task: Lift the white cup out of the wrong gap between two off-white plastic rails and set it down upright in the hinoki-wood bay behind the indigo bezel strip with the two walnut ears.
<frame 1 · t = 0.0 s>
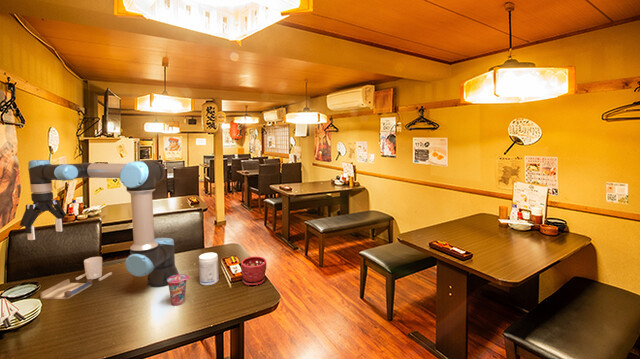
hand: (46, 235, 139), 28 cm above the table, fingers open, 13 cm apart
cup: (179, 303, 132), on the table
plant pot: (254, 282, 153), on the table
bezel bay: (67, 291, 141), on the table
supplement tub: (209, 282, 153), on the table
white cup: (94, 277, 157), on the table
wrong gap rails: (94, 276, 157), on the table
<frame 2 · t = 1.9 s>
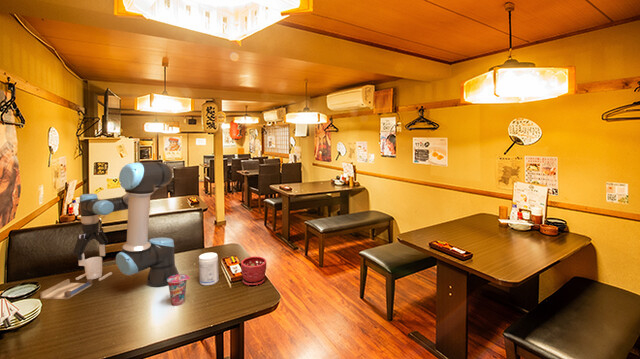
hand: (92, 260, 156), 9 cm above the table, fingers open, 13 cm apart
nothing on the table moved.
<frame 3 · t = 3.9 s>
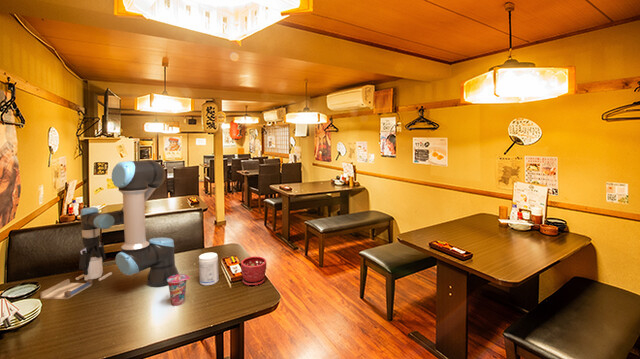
hand: (94, 276, 157), 0 cm above the table, fingers closed on white cup, 8 cm apart
white cup: (94, 277, 157), on the table, touching gripper
everything else where it was.
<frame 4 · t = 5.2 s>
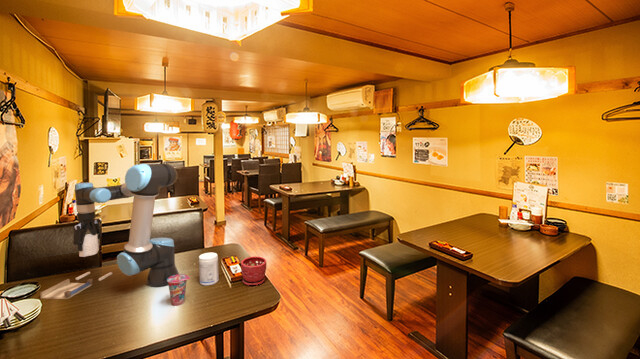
hand: (89, 253, 153), 14 cm above the table, fingers closed on white cup, 7 cm apart
white cup: (89, 254, 153), point 14 cm above the table, touching gripper
everything else where it was.
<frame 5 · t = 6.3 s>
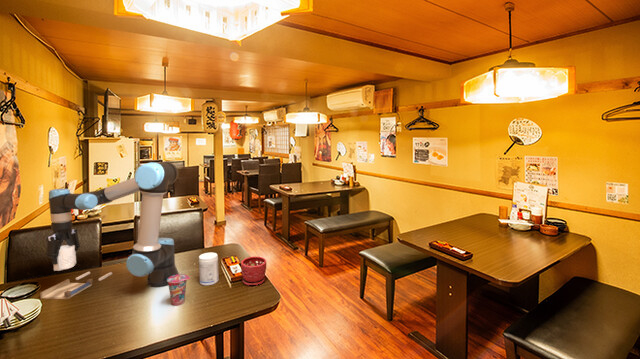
hand: (65, 266, 140), 13 cm above the table, fingers closed on white cup, 7 cm apart
white cup: (65, 267, 140), point 12 cm above the table, touching gripper
everything else where it was.
when the fingers open (3 cm above the table, at t = 8.5 s): white cup drops 1 cm, resting on bezel bay.
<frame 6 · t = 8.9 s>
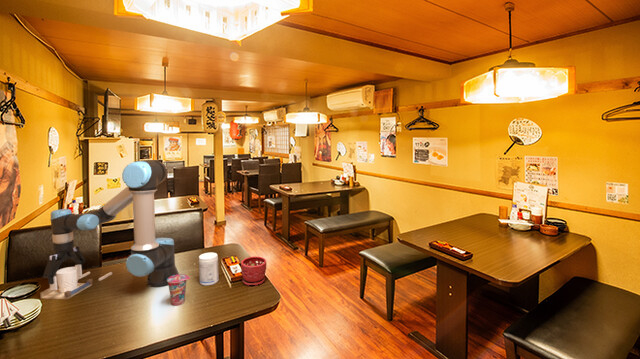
hand: (67, 283, 141), 4 cm above the table, fingers open, 13 cm apart
white cup: (68, 289, 141), point 1 cm above the table, touching bezel bay
everything else where it was.
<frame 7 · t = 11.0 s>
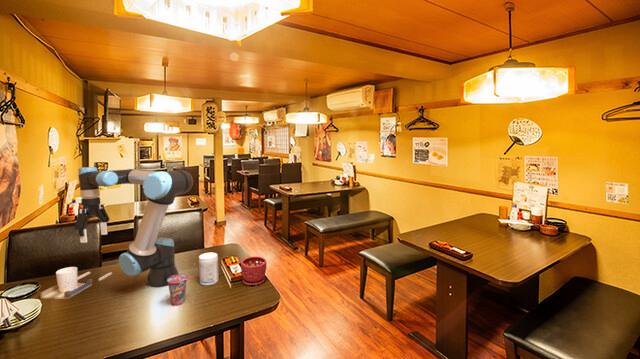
hand: (94, 238, 147), 24 cm above the table, fingers open, 13 cm apart
nothing on the table moved.
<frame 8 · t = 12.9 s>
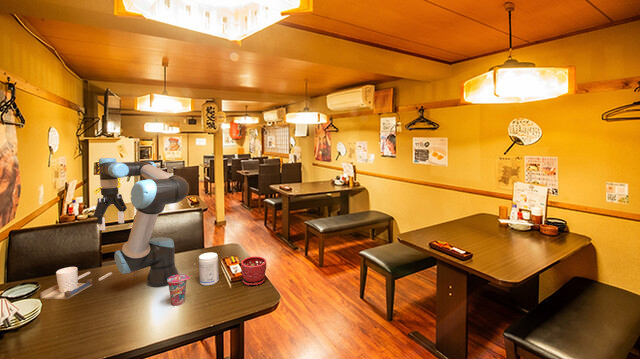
hand: (112, 226, 153), 29 cm above the table, fingers open, 13 cm apart
nothing on the table moved.
at the end: white cup inside the target area on the bezel bay (0.4 cm from its centre), point 0.6 cm above the bezel bay's base; white cup tilted 0°; the gripper is holding nothing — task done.
